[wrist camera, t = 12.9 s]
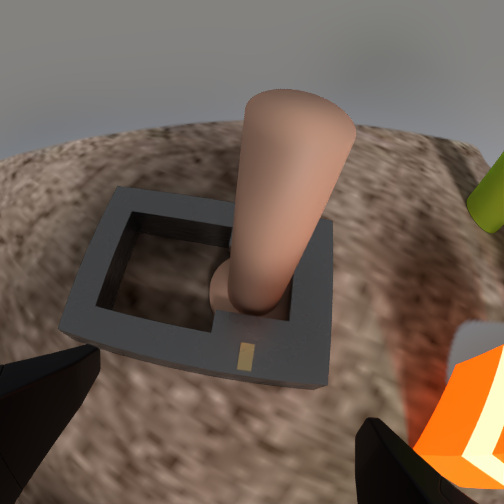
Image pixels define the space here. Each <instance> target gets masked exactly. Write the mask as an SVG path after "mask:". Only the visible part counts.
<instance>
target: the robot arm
mask: <svg viewBox="0 0 504 504" xmlns="http://www.w3.org/2000/svg"><path fill="white" fill-rule="evenodd" d="M99 372H100V349H99V348H98V347H95V346H93V345H91V344H86V345H82V346H78V347H74V348H71V349H67V350H63V351H59V352H55V353H51V354H47V355H43V356H38V357H34V358H30V359H26V360H21V361H17V362H13V363H8V364H5V365H0V504H14V503H15V502H16V500H17V498H18V497H19V495H20V494H21V492H22V490H23V489H24V487H25V486H26V484H27V483H28V481H29V480H30V478H31V477H32V475H33V474H34V472H35V471H36V469H37V468H38V466H39V465H40V463H41V462H42V460H43V459H44V457H45V456H46V454H47V453H48V452H49V450H50V449H51V447H52V446H53V444H54V443H55V441H56V440H57V439H58V437H59V436H60V434H61V433H62V432H63V430H64V429H65V427H66V426H67V424H68V423H69V422H70V420H71V419H72V418H73V416H74V415H75V413H76V412H77V411H78V409H79V408H80V406H81V405H82V403H83V401H84V399H85V398H86V396H87V394H88V392H89V390H90V389H91V387H92V385H93V383H94V381H95V380H96V378H97V376H98V374H99ZM355 481H356V491H357V502H358V504H478V503H477V502H475V501H474V500H472V499H471V498H470V497H468V496H467V495H465V494H464V493H463V492H461V491H460V490H459V489H457V488H456V487H455V486H454V485H452V484H451V483H450V482H449V481H448V480H447V479H445V478H444V477H443V476H441V474H440V473H439V472H437V471H436V470H435V469H434V468H433V467H432V466H431V465H430V464H428V463H427V462H426V461H425V460H424V459H423V458H422V457H421V456H420V455H418V454H417V453H416V452H415V451H414V450H413V449H412V448H411V447H410V446H409V445H407V444H406V443H405V442H404V441H403V440H402V439H401V438H400V437H399V436H398V435H397V434H395V433H394V432H393V431H392V430H391V429H390V428H389V427H388V426H387V425H386V424H385V423H384V422H383V421H382V420H380V419H379V418H373V417H369V418H367V419H366V420H365V421H364V423H363V424H362V426H361V428H360V429H359V431H358V432H357V434H356V437H355Z"/></svg>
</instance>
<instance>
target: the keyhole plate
mask: <svg viewBox="0 0 504 504" xmlns="http://www.w3.org/2000/svg"><path fill="white" fill-rule="evenodd" d="M234 211H235V203H233V202H227V201H220V200H214V199H208V198H201V197H195V196H188V195H181V194H174V193H167V192H160V191H153V190H145V189H137V188H130V187H121V186H117V188H116V190H115V192H114V194H113V196H112V198H111V200H110V202H109V204H108V206H107V208H106V210H105V212H104V214H103V216H102V218H101V220H100V222H99V224H98V227H97V229H96V231H95V233H94V235H93V237H92V240H91V242H90V244H89V247H88V249H87V251H86V254H85V256H84V258H83V261H82V263H81V266H80V268H79V271H78V273H77V276H76V278H75V281H74V284H73V286H72V289H71V292H70V294H69V297H68V300H67V303H66V306H65V309H64V312H63V315H62V318H61V321H60V324H59V327H58V329H59V330H60V331H62V332H63V333H65V334H66V335H68V336H69V337H71V338H72V339H74V340H75V341H78V342H81V343H84V344H91V345H93V346H95V347H98V348H100V349H103V350H106V351H109V352H113V353H116V354H120V355H123V356H127V357H130V358H134V359H138V360H141V361H145V362H149V363H153V364H157V365H161V366H166V367H170V368H174V369H179V370H183V371H188V372H193V373H198V374H203V375H208V376H213V377H219V378H225V379H231V380H237V381H243V382H250V383H257V384H264V385H272V386H280V387H289V388H299V389H311V390H315V389H318V388H321V387H324V386H327V385H328V374H329V360H330V344H331V324H332V295H333V221H331V220H326V219H321V218H320V219H319V221H318V223H317V225H316V227H315V229H314V232H313V234H312V236H311V238H310V240H309V242H308V244H307V246H306V248H305V250H304V252H303V255H302V257H301V259H300V261H299V263H298V265H297V267H296V269H295V271H294V273H293V275H292V277H291V287H290V298H289V308H288V318H287V321H283V320H276V319H270V318H264V317H257V316H251V315H245V314H239V313H233V312H228V311H222V310H217V309H216V311H215V316H214V321H213V326H212V331H211V333H209V332H204V331H199V330H194V329H189V328H184V327H179V326H175V325H170V324H165V323H161V322H156V321H152V320H148V319H143V318H139V317H135V316H131V315H127V314H123V313H119V312H115V311H112V308H113V305H114V302H115V299H116V295H117V292H118V289H119V286H120V283H121V280H122V278H123V275H124V272H125V269H126V266H127V263H128V261H129V258H130V255H131V252H132V250H133V247H134V244H135V242H136V239H137V237H138V234H139V232H140V233H146V234H152V235H157V236H163V237H169V238H175V239H181V240H186V241H192V242H198V243H204V244H209V245H215V246H221V247H227V248H229V252H231V243H232V232H233V222H234Z"/></svg>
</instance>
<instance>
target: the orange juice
mask: <svg viewBox="0 0 504 504" xmlns="http://www.w3.org/2000/svg"><path fill="white" fill-rule="evenodd" d="M413 450H414V451H415V452H416V453H417V454H418V455H420V456H421V457H422V458H423V459H424V460H425V461H426V462H427V463H428V464H430V465H431V466H432V467H433V468H434V469H435V470H436V471H437V472H439V473H440V474H441V475H442V476H443V477H445V478H447V479H448V480H450V481H451V482H453V483H455V484H456V485H458V486H460V487H468V488H484V489H504V344H503V345H501V346H499V347H497V348H495V349H493V350H490V351H488V352H486V353H484V354H481V355H479V356H477V357H474V358H472V359H470V360H467V361H464V362H462V363H460V364H457V365H456V366H455V368H454V371H453V373H452V375H451V378H450V380H449V382H448V384H447V386H446V389H445V391H444V393H443V395H442V397H441V399H440V401H439V403H438V405H437V407H436V409H435V411H434V413H433V415H432V417H431V419H430V420H429V422H428V424H427V426H426V428H425V429H424V431H423V433H422V435H421V436H420V438H419V440H418V442H417V443H416V445H415V446H414V448H413Z"/></svg>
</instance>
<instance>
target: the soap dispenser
mask: <svg viewBox="0 0 504 504" xmlns="http://www.w3.org/2000/svg"><path fill="white" fill-rule="evenodd" d="M467 208H468V211H469V213H470V215H471V216H472V218H473V219H474V221H475V222H476V223H477V224H478V225H479V226H480V227H481V228H482V229H483V230H484V231H486V232H488V233H495V232H497V231H498V230H499V229H500V228H501V227H502V226H503V225H504V152H503V153H502V154H501V156H500V157H499V159H498V160H497V161H496V162H495V164H494V165H493V166H492V168H491V169H490V170H489V172H488V173H487V174H486V176H485V177H484V178H483V179H482V181H481V182H480V183H479V184H478V186H477V187H476V188H475V189H474V191H473V192H472V193H471V194H470V196H469V197H468V198H467Z"/></svg>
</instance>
